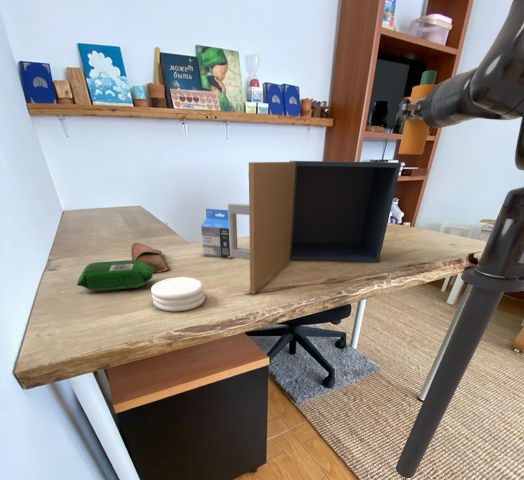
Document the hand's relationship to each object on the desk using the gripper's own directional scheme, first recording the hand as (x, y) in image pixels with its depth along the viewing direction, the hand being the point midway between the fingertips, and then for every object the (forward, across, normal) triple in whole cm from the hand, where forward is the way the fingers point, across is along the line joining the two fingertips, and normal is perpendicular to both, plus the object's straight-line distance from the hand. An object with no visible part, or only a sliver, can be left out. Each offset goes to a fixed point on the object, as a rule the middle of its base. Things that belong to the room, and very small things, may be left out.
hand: (415, 114), depth 70 cm
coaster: (-36, +52, +34) cm, 72 cm away
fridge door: (-18, +36, +34) cm, 53 cm away
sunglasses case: (-10, +67, +34) cm, 76 cm away
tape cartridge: (-2, +49, +34) cm, 60 cm away
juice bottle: (-2, 0, +8) cm, 8 cm away
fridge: (+3, +16, +34) cm, 37 cm away
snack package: (-28, +67, +34) cm, 81 cm away
